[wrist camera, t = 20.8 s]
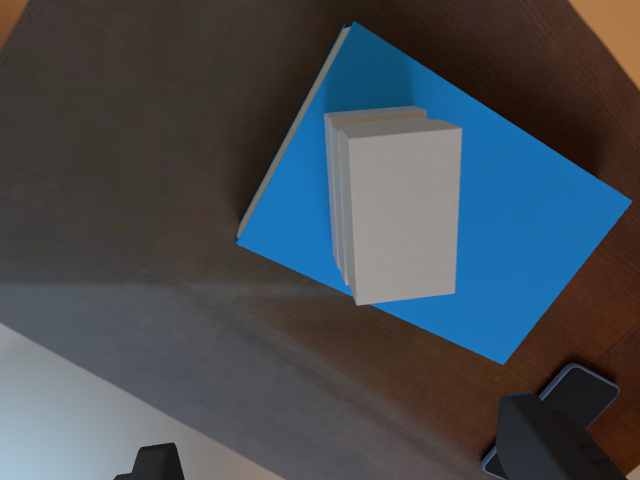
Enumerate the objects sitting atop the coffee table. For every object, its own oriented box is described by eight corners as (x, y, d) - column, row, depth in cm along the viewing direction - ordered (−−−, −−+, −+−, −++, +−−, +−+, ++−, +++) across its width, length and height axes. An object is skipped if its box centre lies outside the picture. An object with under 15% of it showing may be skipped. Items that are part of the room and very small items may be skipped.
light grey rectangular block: (323, 113, 30) (335, 124, 26) (414, 105, 31) (441, 115, 26) (332, 254, 34) (343, 286, 29) (413, 245, 35) (436, 275, 30)
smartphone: (625, 390, 47) (530, 491, 51) (618, 384, 48) (526, 484, 52) (574, 363, 45) (479, 471, 49) (568, 358, 45) (475, 464, 49)
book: (351, 19, 28) (638, 199, 35) (341, 23, 32) (600, 184, 39) (231, 253, 33) (503, 372, 40) (235, 231, 37) (482, 343, 44)
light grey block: (338, 128, 26) (348, 138, 23) (441, 118, 26) (462, 127, 23) (347, 281, 29) (356, 306, 27) (437, 271, 30) (455, 293, 27)
